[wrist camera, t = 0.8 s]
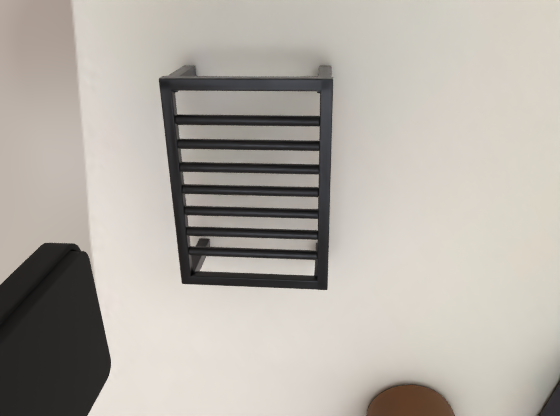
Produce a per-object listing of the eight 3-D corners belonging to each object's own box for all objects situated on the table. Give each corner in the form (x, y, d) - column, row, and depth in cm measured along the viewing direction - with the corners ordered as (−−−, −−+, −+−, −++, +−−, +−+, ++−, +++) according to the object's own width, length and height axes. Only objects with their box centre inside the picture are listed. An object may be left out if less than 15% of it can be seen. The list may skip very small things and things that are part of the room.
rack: (181, 63, 34) (158, 78, 30) (333, 63, 33) (333, 78, 29) (198, 248, 40) (181, 284, 35) (328, 253, 39) (327, 290, 35)
